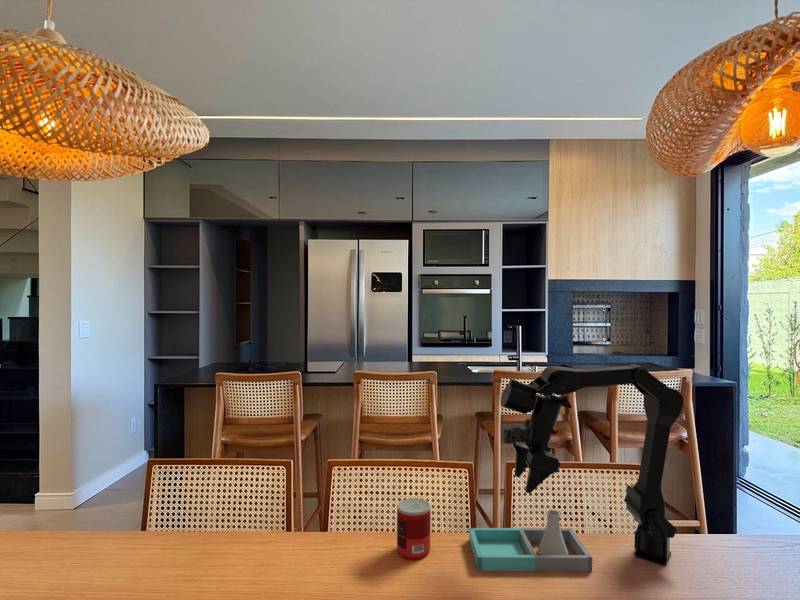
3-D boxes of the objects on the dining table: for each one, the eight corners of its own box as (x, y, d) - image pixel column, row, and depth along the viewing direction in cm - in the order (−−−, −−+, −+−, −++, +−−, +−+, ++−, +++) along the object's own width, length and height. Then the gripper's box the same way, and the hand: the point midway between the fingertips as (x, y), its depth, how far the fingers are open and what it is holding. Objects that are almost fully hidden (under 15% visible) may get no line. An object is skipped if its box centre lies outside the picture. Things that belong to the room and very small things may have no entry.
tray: (571, 540, 118) (571, 528, 118) (592, 571, 105) (592, 557, 105) (469, 540, 118) (469, 527, 118) (477, 570, 105) (478, 557, 105)
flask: (565, 547, 115) (565, 506, 115) (573, 564, 108) (573, 520, 108) (534, 545, 116) (534, 504, 116) (539, 562, 109) (540, 518, 109)
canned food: (436, 548, 115) (436, 502, 114) (419, 564, 108) (419, 516, 108) (408, 539, 119) (408, 495, 118) (390, 554, 112) (390, 507, 112)
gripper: (500, 400, 120) (481, 459, 120) (520, 420, 101) (497, 490, 102) (543, 413, 120) (523, 472, 120) (570, 436, 102) (547, 506, 102)
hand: (522, 484), depth 111 cm, fingers open, 9 cm apart
